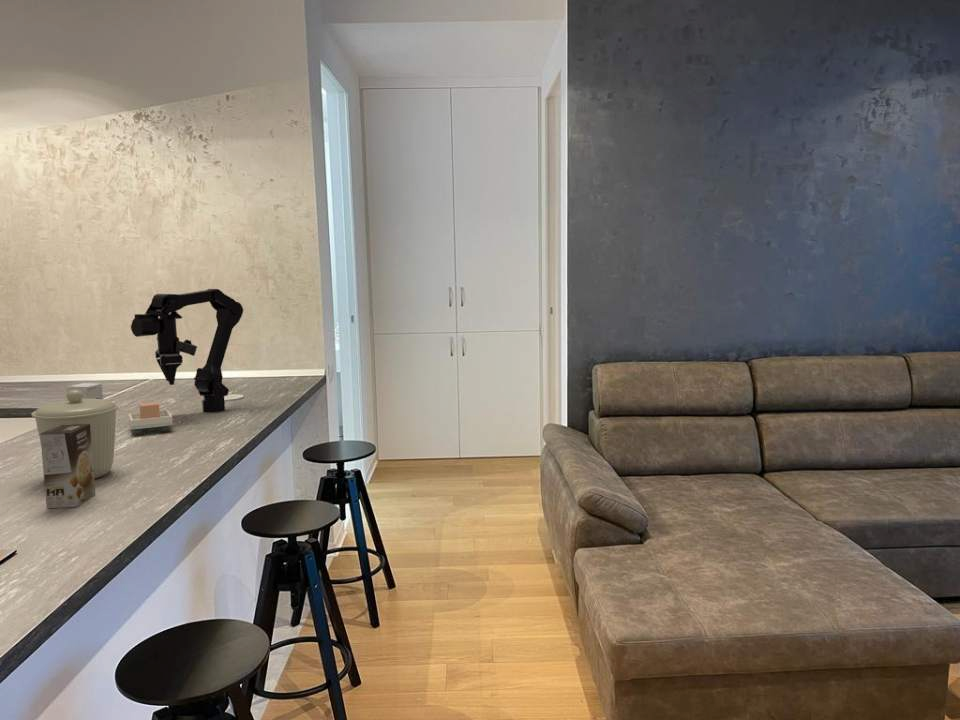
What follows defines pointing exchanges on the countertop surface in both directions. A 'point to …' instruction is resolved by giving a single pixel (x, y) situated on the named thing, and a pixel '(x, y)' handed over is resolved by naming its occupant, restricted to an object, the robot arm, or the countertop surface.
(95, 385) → the supplement box
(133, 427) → the white tray
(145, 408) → the block
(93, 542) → the countertop surface
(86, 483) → the coffee box
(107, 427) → the canister
